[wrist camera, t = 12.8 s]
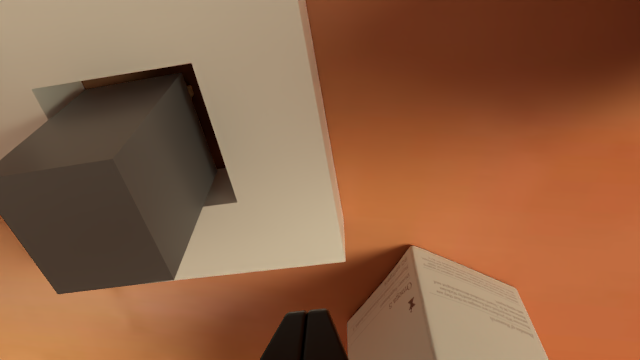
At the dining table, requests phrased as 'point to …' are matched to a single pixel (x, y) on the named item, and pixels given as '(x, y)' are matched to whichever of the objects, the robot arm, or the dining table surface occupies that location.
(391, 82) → the dining table surface
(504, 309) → the supplement box
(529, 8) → the dining table surface
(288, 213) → the socket
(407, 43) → the dining table surface
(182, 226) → the plug
